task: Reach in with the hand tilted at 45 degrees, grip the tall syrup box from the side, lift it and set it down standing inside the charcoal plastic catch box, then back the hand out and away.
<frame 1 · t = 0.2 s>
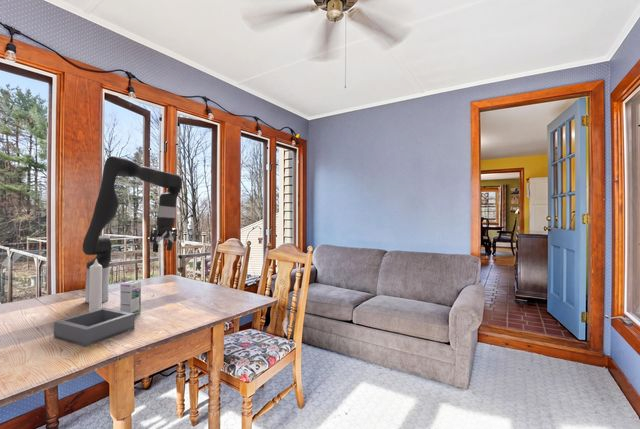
hand: (162, 251, 140), 29 cm above the table, tool pointing down, fingers open, 8 cm apart
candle: (95, 314, 136), on the table
syrup box: (130, 314, 138), on the table
catch box: (95, 333, 117), on the table
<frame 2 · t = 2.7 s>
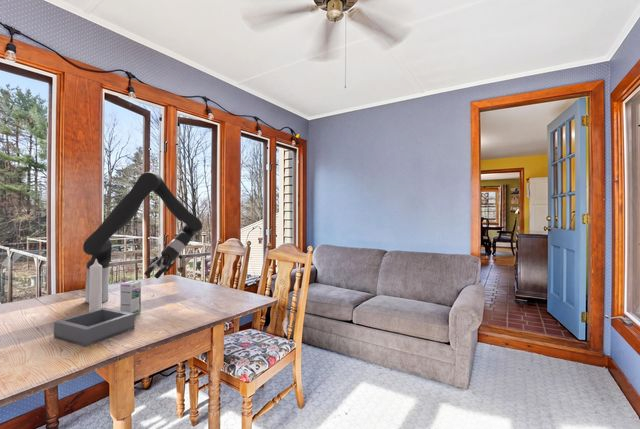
hand: (150, 276, 146), 16 cm above the table, tool tilted 45°, fingers open, 8 cm apart
nothing on the table moved.
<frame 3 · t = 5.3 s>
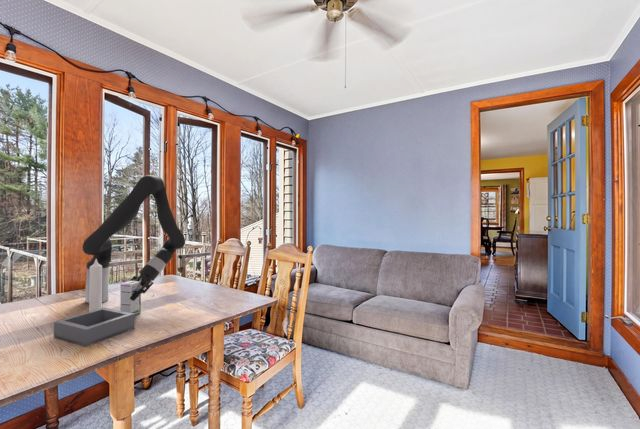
hand: (127, 298, 137), 7 cm above the table, tool tilted 45°, fingers closed on syrup box, 7 cm apart
syrup box: (130, 314, 138), on the table, touching gripper
everything else where it was.
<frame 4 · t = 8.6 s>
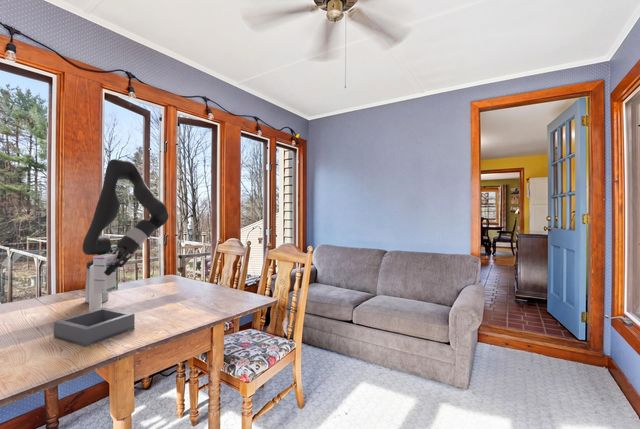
hand: (101, 273, 119), 23 cm above the table, tool tilted 45°, fingers closed on syrup box, 7 cm apart
syrup box: (105, 291, 120), point 15 cm above the table, touching gripper
everything else where it was.
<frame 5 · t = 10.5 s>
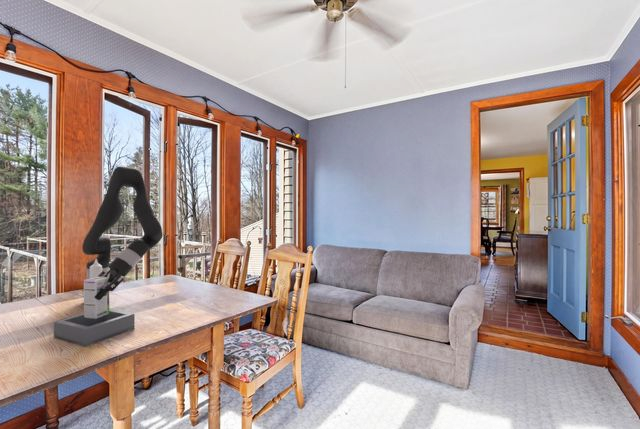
hand: (92, 297, 115), 14 cm above the table, tool tilted 45°, fingers closed on syrup box, 7 cm apart
syrup box: (96, 316, 117), point 6 cm above the table, touching gripper
everything else where it was.
when the fingers open (10 cm above the table, at t = 12.0 s): syrup box drops 1 cm, resting on catch box.
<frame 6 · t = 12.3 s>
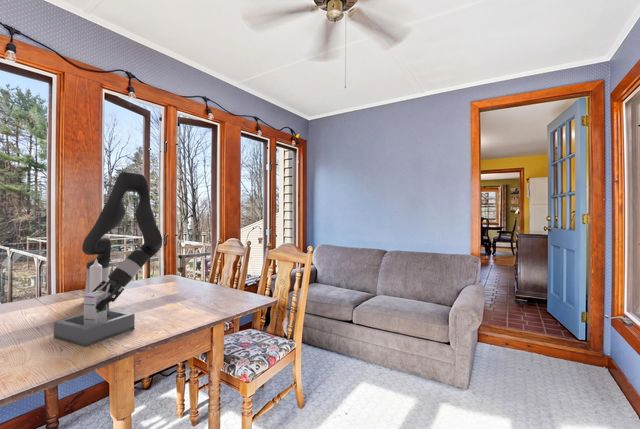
hand: (92, 307, 115), 10 cm above the table, tool tilted 45°, fingers open, 8 cm apart
syrup box: (96, 330, 117), point 1 cm above the table, touching catch box
everything else where it was.
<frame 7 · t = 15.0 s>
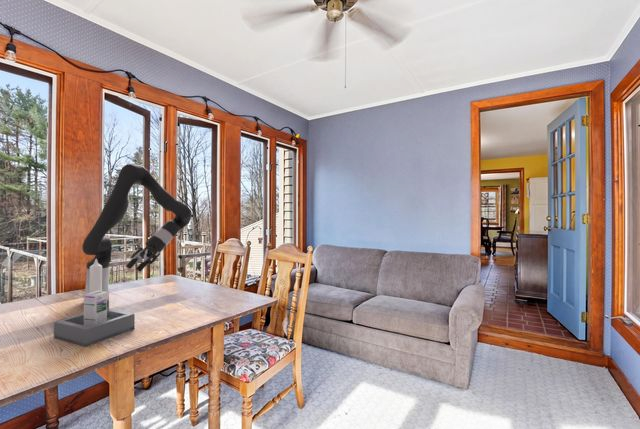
hand: (132, 268, 130), 22 cm above the table, tool tilted 45°, fingers open, 8 cm apart
nothing on the table moved.
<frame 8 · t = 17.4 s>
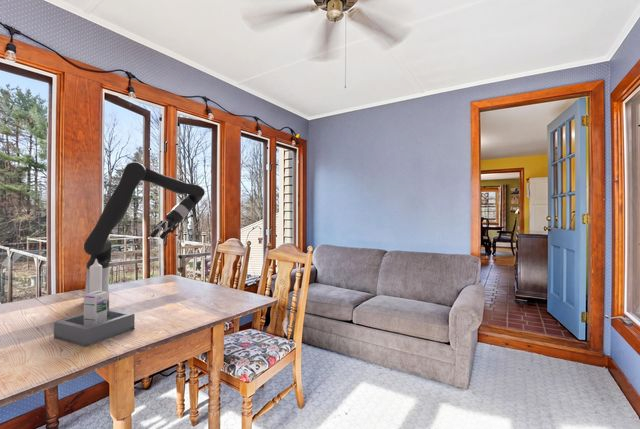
hand: (156, 237, 152), 34 cm above the table, tool tilted 45°, fingers open, 8 cm apart
nothing on the table moved.
at the end: syrup box inside the target area on the catch box (0.4 cm from its centre), point 0.8 cm above the catch box's base; the gripper is holding nothing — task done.
